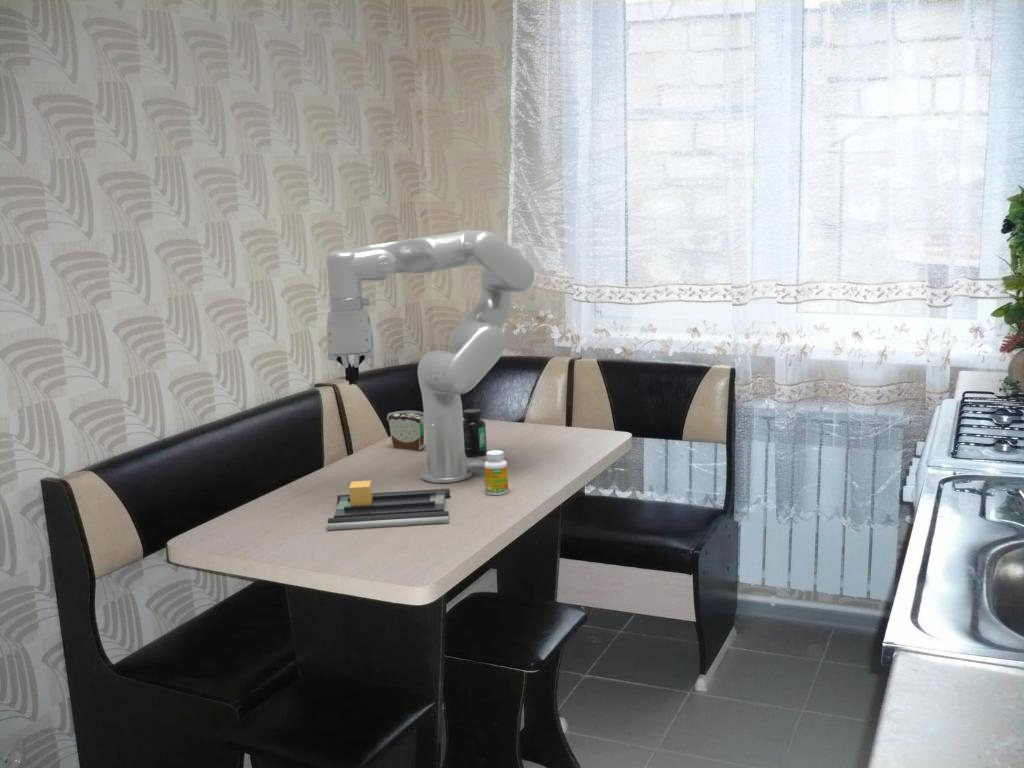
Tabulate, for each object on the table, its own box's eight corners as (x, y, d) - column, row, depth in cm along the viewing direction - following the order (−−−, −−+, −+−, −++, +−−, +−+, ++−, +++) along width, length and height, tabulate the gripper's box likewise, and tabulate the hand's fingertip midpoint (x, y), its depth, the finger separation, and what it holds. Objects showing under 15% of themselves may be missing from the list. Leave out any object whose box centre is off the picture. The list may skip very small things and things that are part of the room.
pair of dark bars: (450, 495, 247) (449, 487, 247) (448, 523, 227) (448, 514, 227) (338, 502, 247) (338, 494, 246) (327, 531, 227) (326, 522, 226)
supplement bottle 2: (491, 497, 245) (489, 456, 243) (481, 491, 249) (479, 451, 248) (512, 493, 247) (510, 452, 245) (502, 487, 252) (499, 448, 250)
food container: (437, 447, 293) (435, 412, 291) (424, 452, 288) (421, 416, 286) (402, 443, 300) (399, 408, 298) (388, 448, 294) (386, 413, 293)
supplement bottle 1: (489, 456, 281) (487, 412, 279) (464, 458, 279) (461, 414, 277) (484, 450, 288) (481, 406, 285) (459, 452, 286) (456, 409, 284)
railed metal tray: (445, 499, 245) (444, 487, 244) (444, 518, 231) (443, 505, 231) (341, 505, 244) (340, 493, 244) (334, 524, 230) (333, 512, 230)
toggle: (372, 499, 240) (371, 480, 239) (370, 506, 235) (369, 486, 234) (353, 500, 239) (351, 481, 239) (350, 507, 235) (349, 487, 234)
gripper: (380, 301, 246) (386, 378, 250) (316, 305, 246) (323, 382, 249) (378, 305, 239) (384, 385, 243) (311, 309, 239) (318, 388, 242)
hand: (353, 383), depth 246 cm, fingers closed
